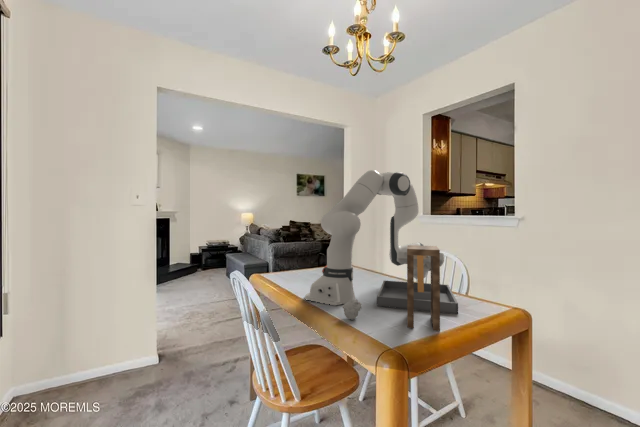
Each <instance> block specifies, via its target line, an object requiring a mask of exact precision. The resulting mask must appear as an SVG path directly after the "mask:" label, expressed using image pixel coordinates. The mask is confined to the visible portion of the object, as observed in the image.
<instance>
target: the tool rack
mask: <svg viewBox="0 0 640 427" xmlns="http://www.w3.org/2000/svg"><path fill="white" fill-rule="evenodd" d="M440 253H441V249H440V248H439V247H438V246H437V245H424V246H416V245H408V246H407V264H406V270H407V271H406V274H407V275H406V278H407V279H406V280H407V281H406V282H407V309H406V312H407V313H406V314H407V315H406V316H407V317H406V318H407V320H406V321H407V324H406V325H407V328H410V329H414V328H415V327H414V326H415V322H414V320H415V318H414V317H415V315H414V314H415V310H414V283H415V282H414V279H415V278H414V255H421V256H431V271H430V284H431V311H430V319H431V326H432V330H433V331H434V332H435V331H437V332H440V331H441V312H440V284H441V277H440V276H441V271H440V270H441V266H440Z"/></svg>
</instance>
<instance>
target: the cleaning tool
mask: <svg viewBox="0 0 640 427" xmlns="http://www.w3.org/2000/svg"><path fill="white" fill-rule="evenodd" d="M416 280H417V281H416V283H417V284H418V292H414V299H419V300H431V293H424V283H425V278H424V268H423V256H421V255H417V279H416Z"/></svg>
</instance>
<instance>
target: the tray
mask: <svg viewBox="0 0 640 427" xmlns="http://www.w3.org/2000/svg"><path fill="white" fill-rule="evenodd" d="M414 292H418V284H417V282H414ZM424 293H431V283H429V282H428V283H426V282H424ZM376 307H380V308H390V309H400V310H401V309H402V310H407V281H396V280H383V282H382V284H381V286H380V289H379V291H378V293H377V296H376ZM414 311H420V312H421V311H423V312H431V300H419V299H414ZM441 313H445V314H452V315H455V314H456V315H458V314H459V302H458V301H457V299H456V297H455V295H454V293H453V291H452V289H451V288H450V286H449V284H441V283H440V314H441Z"/></svg>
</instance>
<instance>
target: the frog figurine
mask: <svg viewBox="0 0 640 427" xmlns="http://www.w3.org/2000/svg"><path fill="white" fill-rule="evenodd" d="M362 305H363V304H362V303H361V301H359V300H358V299H352V300H351V301H349V302H347V303H345V304H342V306H341V308H342V309H343V313H344V317H346V319H347V320H350V319H351V320H352V321H353V320H355V319H356V318H357V317H358V316H359V311H360V310H361V309H362ZM351 320H350V321H351Z"/></svg>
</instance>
